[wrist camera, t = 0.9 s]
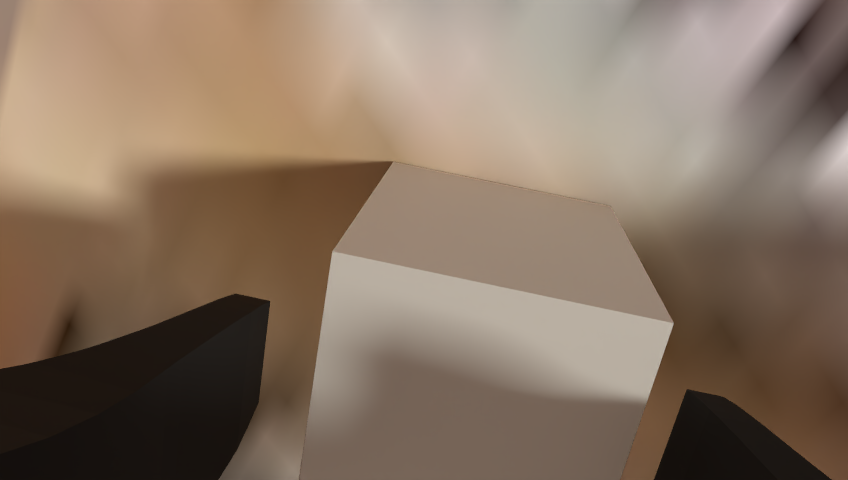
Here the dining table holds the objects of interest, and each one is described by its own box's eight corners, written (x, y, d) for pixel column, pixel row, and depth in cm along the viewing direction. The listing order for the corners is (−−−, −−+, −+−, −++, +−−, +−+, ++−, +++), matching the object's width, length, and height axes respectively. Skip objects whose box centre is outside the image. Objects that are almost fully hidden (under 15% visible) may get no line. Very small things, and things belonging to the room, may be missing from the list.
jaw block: (610, 206, 15) (674, 322, 10) (556, 394, 17) (583, 586, 11) (393, 161, 16) (331, 251, 10) (360, 352, 17) (292, 521, 12)
